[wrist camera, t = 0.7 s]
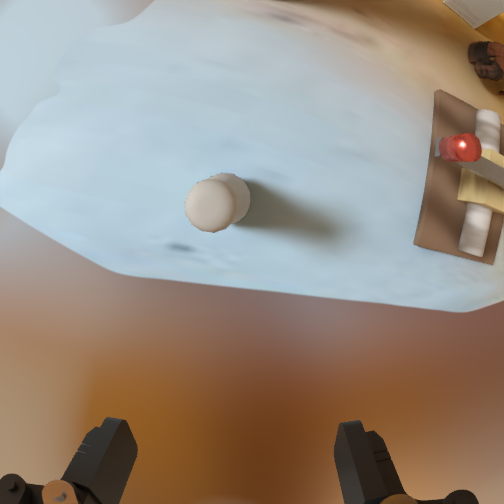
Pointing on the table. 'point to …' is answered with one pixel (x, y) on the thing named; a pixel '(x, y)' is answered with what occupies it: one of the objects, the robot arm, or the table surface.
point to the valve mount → (462, 186)
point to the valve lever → (468, 156)
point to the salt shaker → (217, 202)
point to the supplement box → (476, 10)
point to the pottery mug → (488, 60)
